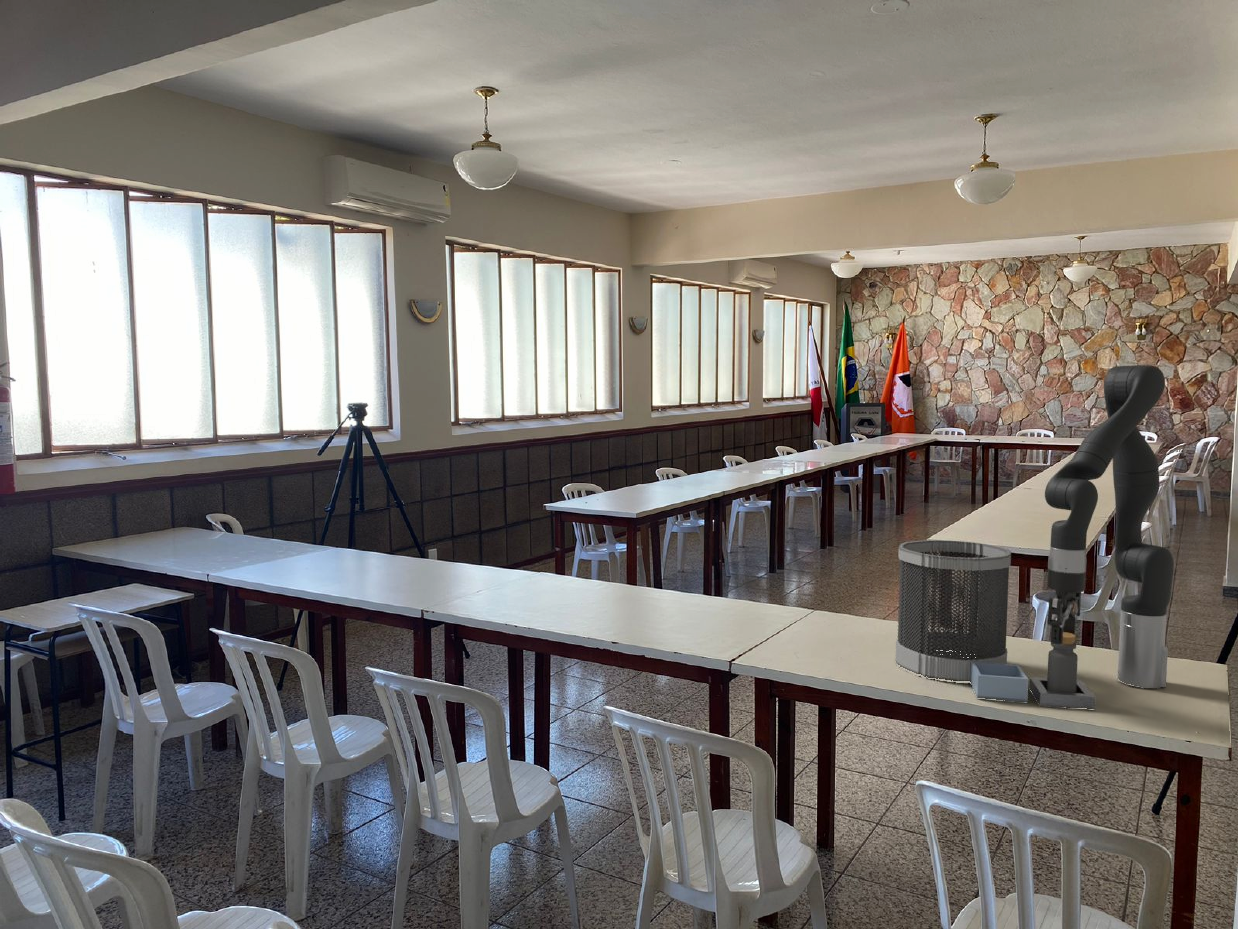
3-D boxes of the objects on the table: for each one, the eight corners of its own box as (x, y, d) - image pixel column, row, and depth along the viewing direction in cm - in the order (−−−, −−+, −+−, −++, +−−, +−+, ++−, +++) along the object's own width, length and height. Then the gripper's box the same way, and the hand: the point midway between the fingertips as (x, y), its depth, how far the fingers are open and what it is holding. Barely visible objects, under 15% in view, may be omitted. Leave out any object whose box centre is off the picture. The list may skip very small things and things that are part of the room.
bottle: (1066, 695, 200) (1069, 630, 199) (1081, 704, 194) (1084, 637, 193) (1041, 695, 200) (1044, 630, 199) (1055, 704, 194) (1057, 638, 193)
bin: (1017, 688, 205) (1018, 665, 205) (1027, 703, 195) (1028, 679, 194) (970, 684, 207) (971, 661, 207) (977, 699, 197) (978, 675, 197)
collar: (1081, 693, 201) (1081, 681, 201) (1094, 710, 191) (1095, 697, 190) (1029, 689, 204) (1029, 677, 204) (1039, 706, 193) (1040, 692, 193)
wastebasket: (954, 648, 237) (957, 538, 235) (1028, 676, 214) (1033, 554, 211) (876, 658, 228) (879, 543, 226) (945, 688, 205) (949, 561, 202)
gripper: (1074, 575, 187) (1070, 650, 188) (1095, 566, 197) (1091, 637, 199) (1037, 569, 192) (1034, 642, 193) (1059, 561, 203) (1055, 631, 204)
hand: (1062, 640), depth 196 cm, fingers open, 8 cm apart
